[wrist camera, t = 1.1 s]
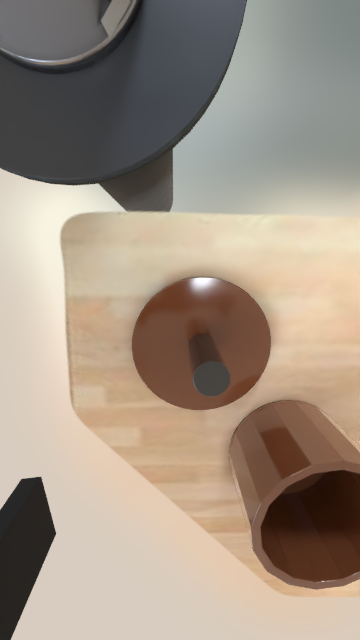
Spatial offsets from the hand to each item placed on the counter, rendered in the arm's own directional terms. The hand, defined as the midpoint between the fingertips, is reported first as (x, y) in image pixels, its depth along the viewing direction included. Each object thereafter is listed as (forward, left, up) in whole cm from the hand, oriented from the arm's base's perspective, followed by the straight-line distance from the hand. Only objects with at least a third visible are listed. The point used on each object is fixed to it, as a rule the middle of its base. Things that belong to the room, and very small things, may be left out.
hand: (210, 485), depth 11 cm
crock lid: (0, +1, -18) cm, 18 cm away
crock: (+14, +9, -18) cm, 25 cm away
